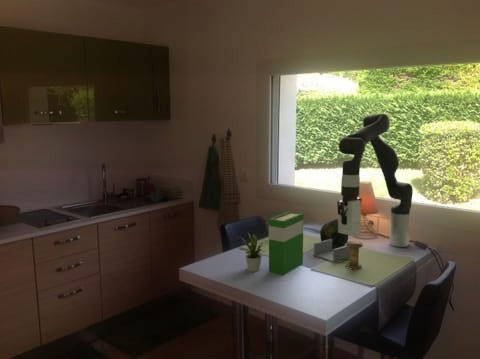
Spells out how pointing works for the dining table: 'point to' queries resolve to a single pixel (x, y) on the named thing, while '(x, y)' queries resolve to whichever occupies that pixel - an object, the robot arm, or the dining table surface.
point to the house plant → (253, 254)
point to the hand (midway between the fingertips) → (348, 223)
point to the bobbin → (354, 254)
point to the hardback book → (285, 243)
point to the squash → (333, 234)
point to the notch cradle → (330, 251)
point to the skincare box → (351, 219)
